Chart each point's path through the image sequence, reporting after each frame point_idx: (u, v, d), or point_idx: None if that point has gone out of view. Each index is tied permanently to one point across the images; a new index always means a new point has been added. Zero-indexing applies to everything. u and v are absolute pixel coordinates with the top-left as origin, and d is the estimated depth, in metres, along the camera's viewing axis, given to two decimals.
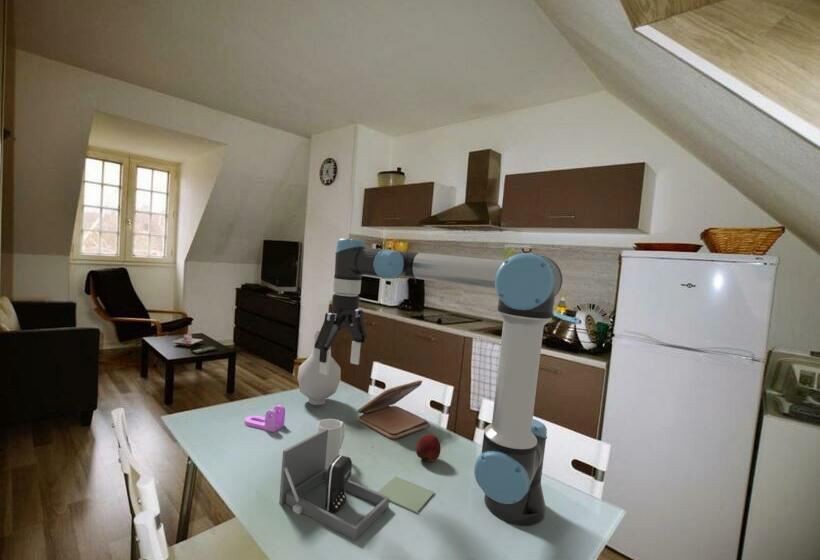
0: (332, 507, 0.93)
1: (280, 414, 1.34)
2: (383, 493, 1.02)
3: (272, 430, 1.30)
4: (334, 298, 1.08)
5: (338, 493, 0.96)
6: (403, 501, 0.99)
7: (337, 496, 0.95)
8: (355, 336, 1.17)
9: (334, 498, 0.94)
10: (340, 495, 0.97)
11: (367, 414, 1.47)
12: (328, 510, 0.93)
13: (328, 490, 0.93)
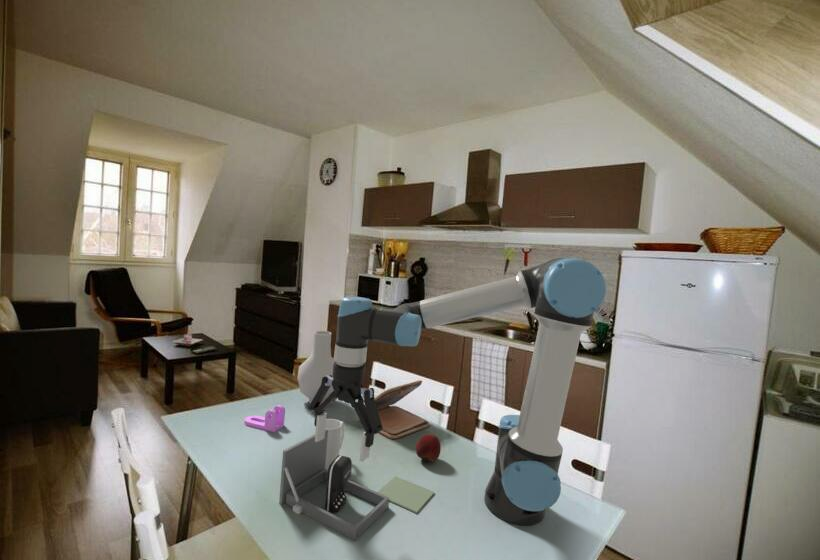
0: (332, 507, 0.93)
1: (280, 414, 1.33)
2: (383, 493, 1.02)
3: (272, 430, 1.30)
4: None
5: (338, 493, 0.96)
6: (403, 501, 0.99)
7: (337, 496, 0.95)
8: None
9: (334, 498, 0.94)
10: (340, 495, 0.97)
11: None
12: (328, 510, 0.93)
13: (328, 490, 0.93)
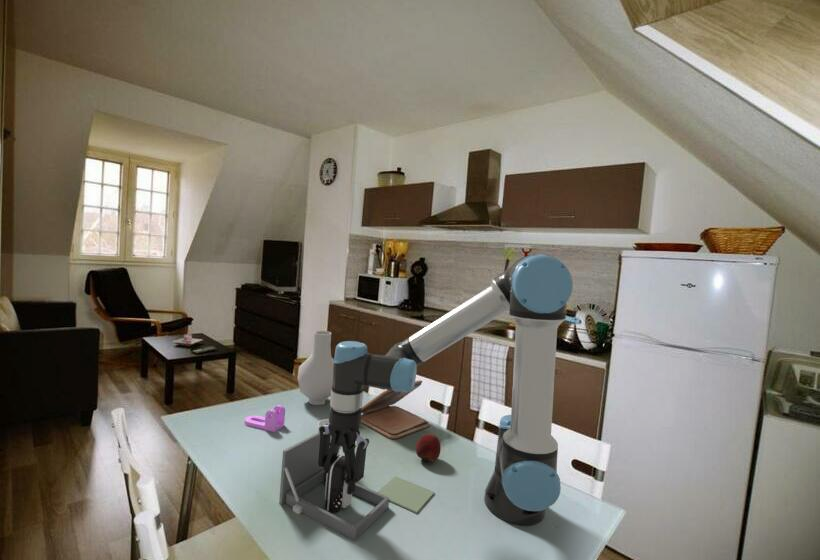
0: (332, 507, 0.93)
1: (280, 414, 1.34)
2: (383, 493, 1.02)
3: (272, 430, 1.30)
4: None
5: (338, 493, 0.96)
6: (403, 501, 0.99)
7: (337, 496, 0.95)
8: None
9: (334, 498, 0.94)
10: (340, 495, 0.97)
11: (367, 414, 1.47)
12: (328, 510, 0.93)
13: (328, 490, 0.93)
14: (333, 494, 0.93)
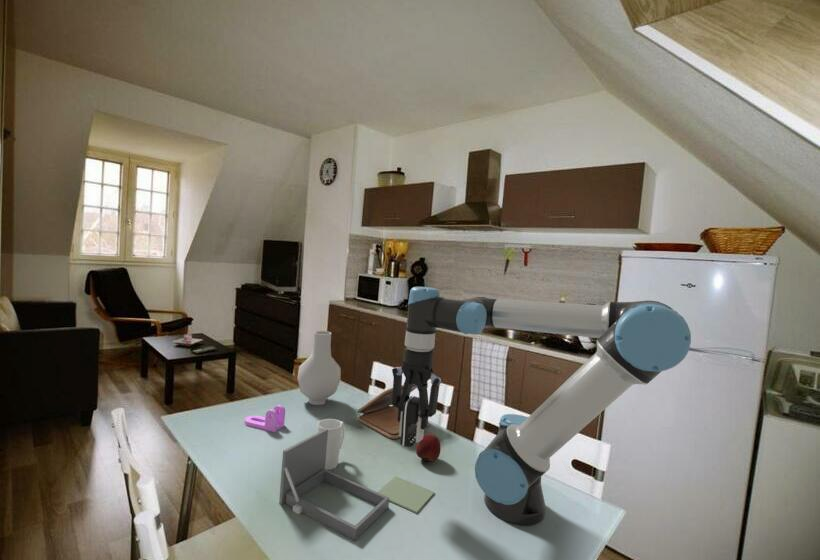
0: (407, 441, 0.99)
1: (280, 414, 1.34)
2: (383, 493, 1.02)
3: (272, 430, 1.30)
4: None
5: (412, 431, 1.02)
6: (403, 501, 0.99)
7: (411, 433, 1.01)
8: None
9: (409, 434, 1.00)
10: (413, 433, 1.03)
11: (367, 414, 1.47)
12: (404, 444, 0.99)
13: (403, 425, 0.99)
14: (408, 429, 0.99)
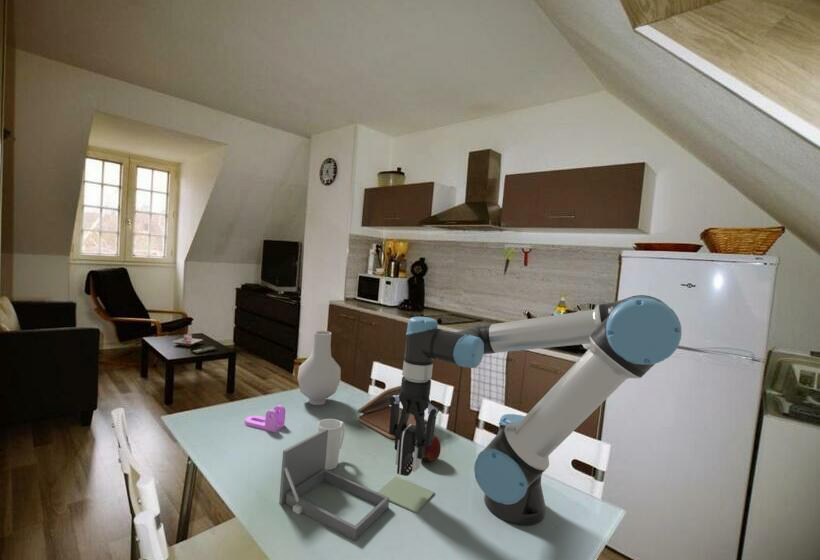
0: (404, 470, 1.00)
1: (280, 414, 1.34)
2: (383, 493, 1.02)
3: (272, 430, 1.30)
4: None
5: (409, 459, 1.03)
6: (403, 501, 0.99)
7: (408, 461, 1.02)
8: None
9: (405, 463, 1.01)
10: (410, 461, 1.04)
11: (367, 414, 1.47)
12: (400, 473, 1.00)
13: (400, 454, 1.00)
14: (404, 458, 1.00)
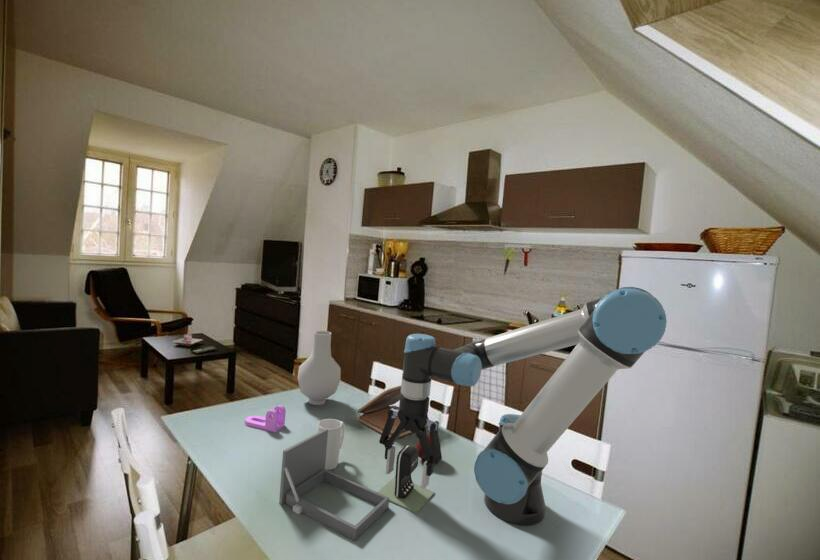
0: (401, 493, 1.00)
1: (280, 414, 1.33)
2: (383, 493, 1.02)
3: (272, 430, 1.30)
4: None
5: (406, 481, 1.04)
6: (403, 501, 0.99)
7: (405, 483, 1.03)
8: None
9: (403, 484, 1.01)
10: (408, 483, 1.04)
11: (367, 414, 1.47)
12: (397, 495, 1.00)
13: (397, 477, 1.00)
14: (402, 481, 1.00)
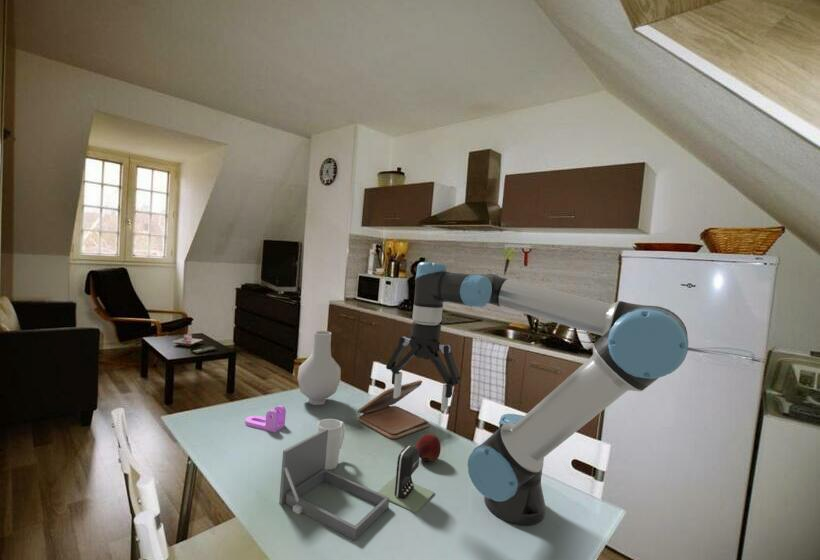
0: (401, 493, 1.00)
1: (281, 414, 1.33)
2: (383, 493, 1.02)
3: (273, 430, 1.30)
4: None
5: (407, 481, 1.04)
6: (403, 501, 0.99)
7: (405, 483, 1.03)
8: None
9: (403, 485, 1.01)
10: (408, 483, 1.04)
11: (367, 414, 1.47)
12: (397, 495, 1.00)
13: (398, 477, 1.00)
14: (402, 481, 1.00)
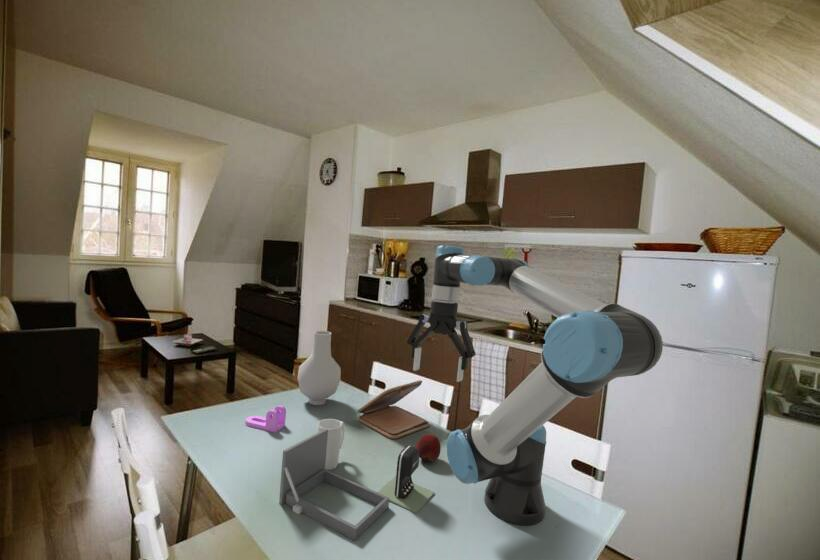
0: (401, 493, 1.00)
1: (281, 414, 1.33)
2: (383, 493, 1.02)
3: (273, 430, 1.30)
4: None
5: (407, 481, 1.04)
6: (403, 501, 0.99)
7: (405, 483, 1.03)
8: None
9: (403, 485, 1.01)
10: (408, 483, 1.04)
11: (367, 414, 1.47)
12: (397, 495, 1.00)
13: (398, 477, 1.00)
14: (402, 481, 1.00)
